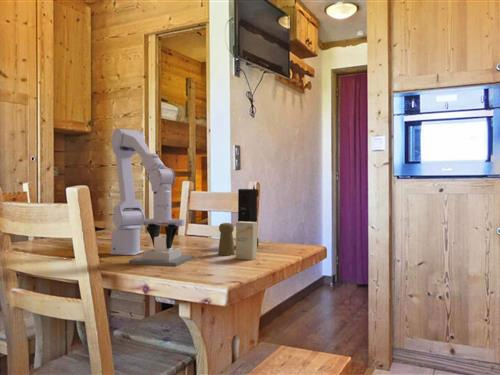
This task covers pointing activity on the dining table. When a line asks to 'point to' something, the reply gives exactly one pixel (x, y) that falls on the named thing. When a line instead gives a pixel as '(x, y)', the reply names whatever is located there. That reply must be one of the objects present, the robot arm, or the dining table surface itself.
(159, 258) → the outlet plate
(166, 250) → the brick
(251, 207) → the portable radio
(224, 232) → the cork
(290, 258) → the dining table surface
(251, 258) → the skincare box
